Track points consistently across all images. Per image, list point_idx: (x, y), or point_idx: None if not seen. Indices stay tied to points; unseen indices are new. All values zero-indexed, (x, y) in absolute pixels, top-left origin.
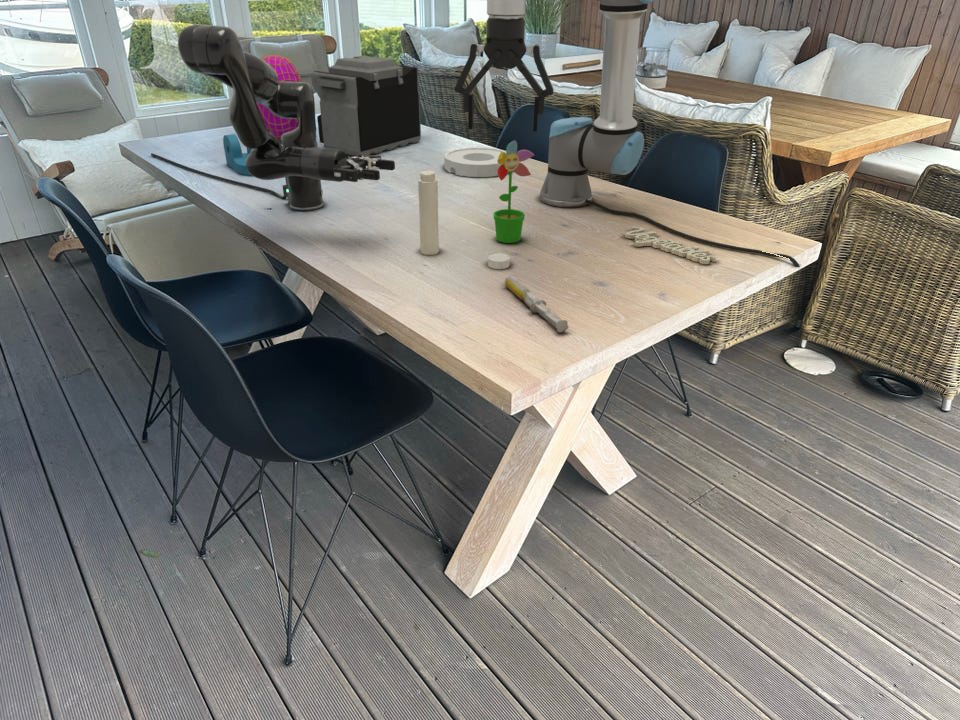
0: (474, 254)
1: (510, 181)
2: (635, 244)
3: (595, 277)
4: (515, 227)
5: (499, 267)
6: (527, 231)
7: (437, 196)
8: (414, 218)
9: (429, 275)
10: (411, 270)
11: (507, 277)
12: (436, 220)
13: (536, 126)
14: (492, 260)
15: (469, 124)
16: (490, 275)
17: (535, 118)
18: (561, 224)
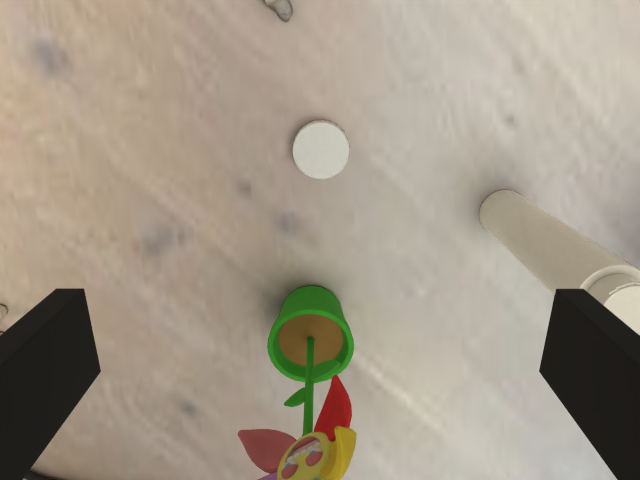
0: (387, 209)
1: (307, 408)
2: (2, 308)
3: (69, 101)
4: (290, 306)
5: (317, 120)
6: (271, 365)
7: (546, 271)
8: (546, 409)
9: (497, 53)
10: (545, 81)
11: (285, 7)
12: (518, 231)
13: (38, 308)
14: (336, 127)
15: (595, 307)
16: (336, 76)
17: (9, 344)
18: (196, 415)
